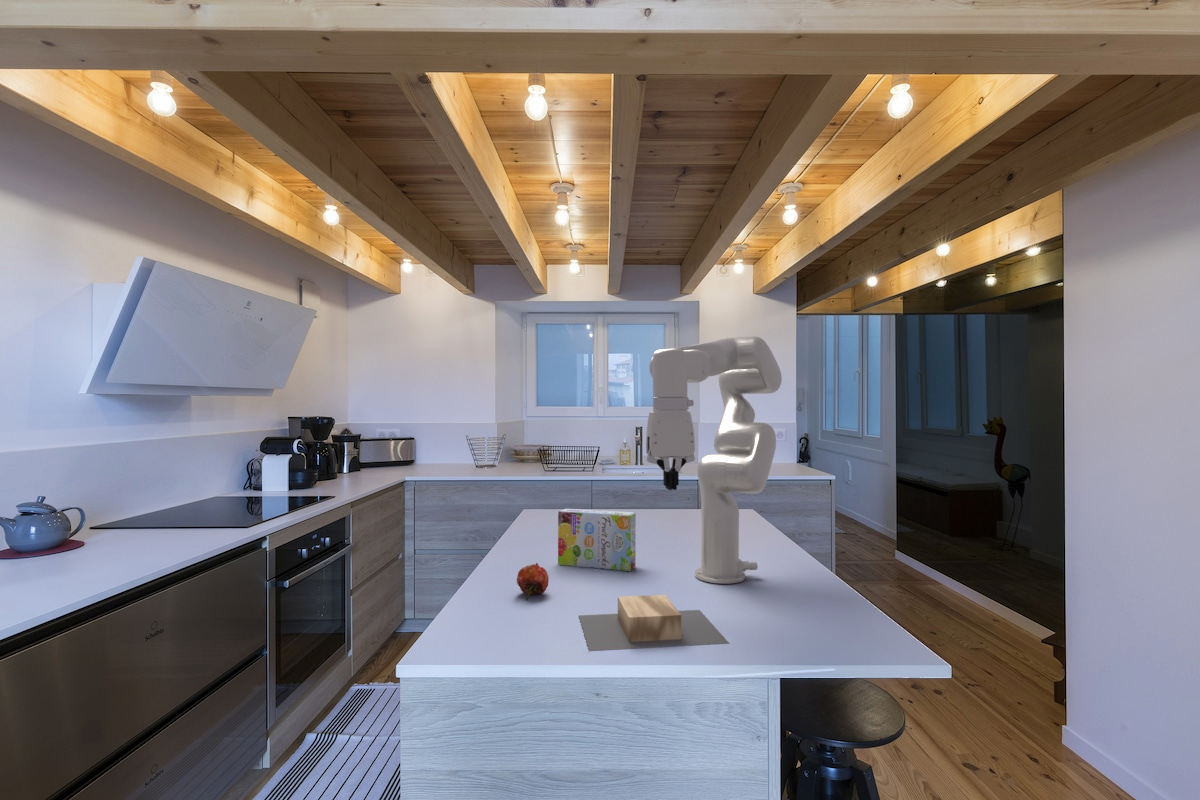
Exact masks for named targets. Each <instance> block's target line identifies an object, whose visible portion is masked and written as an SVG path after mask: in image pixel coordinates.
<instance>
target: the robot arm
mask: <svg viewBox="0 0 1200 800" xmlns="http://www.w3.org/2000/svg"><path fill="white" fill-rule="evenodd" d="M649 373H650V376H651V377H652V411H649V413H648V417H647V425H646V426H647V427H646V436H645V437H646V438H645V452H646V454H647V455H646V462H647V463H649V464H654V465H657V466H658V467H659V468H660V469H661V470H662V472H663V473H662V476H663V477H662V478H663V486H664V487H665V489H667V490H668V491H672V490H674V491H677V489H678V487H677V486H679V483H680V481H679V479H680V478H679V477H680V476H679V472H680V471H681V469H682V468H683V467H684V466H685V464H687V463H688V464H689V463H692V462H694V461H695V459H696V458H695V451H696V450H695V449H696V448H695V447H696V445H695V431H694V430H695V429H694V424H693V418H692V414H691V411H688V410H689V408H690V407H693V406H694V399H692V400H691V399H689V397H688V384H694V383H701V382H703V381H705V380H707V379H708V378H709V377H713V376H714V377H715V376H718V386H719V390H720V394H721V399H722V403H723V412H722V416H721V419H720V421H719V424H718V427H717V431H716V433H715V435H714V439H713V446H714V450H715V451H716V453H710V454H706V455H704V456H703V457H702V458H701V459H700V460H699V462H698V464H697V469H696V470H697V473H696V474H697V479H698V484H699V491H700V502H701V503H700V506H701V507H700V509H701V511H700V512H701V513H700V517H701V518H700V521H701V522H700V523H701V524H700V526H701V527H700V531H701V533H700V535H701V536H700V539H701V541H700V544H701V546H700V549H701V550H700V559H701V560H700V564H701V565H700V567H698V568H697V569H695V572H694V575H695V576H694V577H696V578H697V580H700V581H702V582H707V583H711V584H712V583H713V584H720V585H721V584H722V585H724V584H725V585H727V584H729V585H731V584H737V583H741V582H743V581H744V580H745V579H746V574H745V572H746V571H757V570H758V562H756V561H754V562H753V561H752V562H751V561H748V560H742V559H740V509H739V505H738V503H737V501H736V499H735V498H734V496H733V494H732V493H737V494H747V495H748V494H749V495H756V494H759V493H762V492H763V490H764V489H765V487H766V485H767V481H768V479H769V475H770V471H771V467H772V464H773V460H774V456H775V452H776V447H777V436H776V435H777V434H776V432H775V430H774V428H773V427H772V425H770V424H768V423H765V422H757V421H756V422H754V421H755V417H756V413H755V409H754V408H753V406H752V405H751V403H750V402H749V401H748V400H747V399H746V398H745V396H744V395H746V394H752V395H753V394H756V395H757V394H773V393H776V392H777V391H778V390H779V389H780V388H781V385H782V379H783V378H782V372H781V368H780V366H779V364H778V362H777V360H776V358H775V356H774V354H773V351H772V350H771V348H770V347H769V345H768V343H766V341H765V340H764V339H763V338H761V337H759V336H742V337H741V336H738V337H727V338H722V339H718V340H713V341H712V340H711V341H708V342H702V343H696V344H691V345H686V346H682V347H681V346H680V347H675V348H674V347H673V348H663V349H658V350H655V351H654V353H653V354H652V357H651V358H650V361H649ZM670 458H672V460H671V465H670Z"/></svg>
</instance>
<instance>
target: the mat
mask: <svg viewBox="0 0 1200 800" xmlns="http://www.w3.org/2000/svg"><path fill="white" fill-rule="evenodd" d="M678 611H679V613H680V614H681V639H676V640H657V641H638V642H628V639H627V637H626V635H625V633H624V631H623V629H622V627H621V625H620V623H619V621H618V613H604V614H600V613H599V614H585V615H584V614H583V615H582V614H581V615H578V620H580V621H579V623H581V624H580V626H581V629H582V630H583V631H582V633H584V634H583V637H584V640H586V641H585V643H587V644H586V647H588V648H587V650H589V651H588V652H596V651H597V652H598V651H600V652H602V651H615V650H616V651H617V650H634V649H635V650H636V649H637V650H638V649H651V648H652V649H653V648H657V649H658V648H670V647H671V648H673V647H674V648H675V647H688V646H689V647H691V646H705V645H706V646H708V645H710V646H711V645H725V644H726V645H727V644H730V642H729V641H728V640H727V639H726V638H725V636H724V635H723V634H722V633H721V632H720V631H719V630H718V629H717V628H716V626H715V625H714V624H713V623H712V622H711V621H710V620H709V619H708V618H707V617H706V615H704V613H703V612H702V611H701V610H700V609H691V610H690V609H689V610H688V609H687V610H678Z"/></svg>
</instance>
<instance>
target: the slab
mask: <svg viewBox="0 0 1200 800" xmlns="http://www.w3.org/2000/svg"><path fill="white" fill-rule="evenodd" d="M679 611H680V610H678V608H677V607H676V606H675V605H674V604H673V602H672V601H671V600H670V599H669V598H668V596H667V595H666V594H653V595H652V594H651V595H629V596H617V614H618V621H619V623H620V625H621V627H622V629H623V631H624V633H625V635H626V637H627V639H628V642H638V641H657V640H676V639H681V614H680V613H679Z"/></svg>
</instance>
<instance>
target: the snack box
mask: <svg viewBox="0 0 1200 800" xmlns="http://www.w3.org/2000/svg"><path fill="white" fill-rule="evenodd" d="M557 515H558V516H557V524H558V525H557V533H558V534H557V565H559V564H560V566H569V565H570V566H571V565H572V566H571V567H579V566H583V568H590V567H594V568H593V569H600V568H604V569H603V570H611V569H614V571H622V570H623V571H624V572H631V571H633V569H635V568H636V554H637V553H636V552H637V551H636V549H637V548H636V540H637V539H636V535H637V534H636V529H637V528H636V521H637V520H636V519H637V516H636V512H635V511H634V512H631V511H614V510H613V511H611V510H600V509H599V510H597V509H596V510H595V509H580V508H564V509H561V510H559V511H558V514H557ZM634 567H635V568H634Z"/></svg>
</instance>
